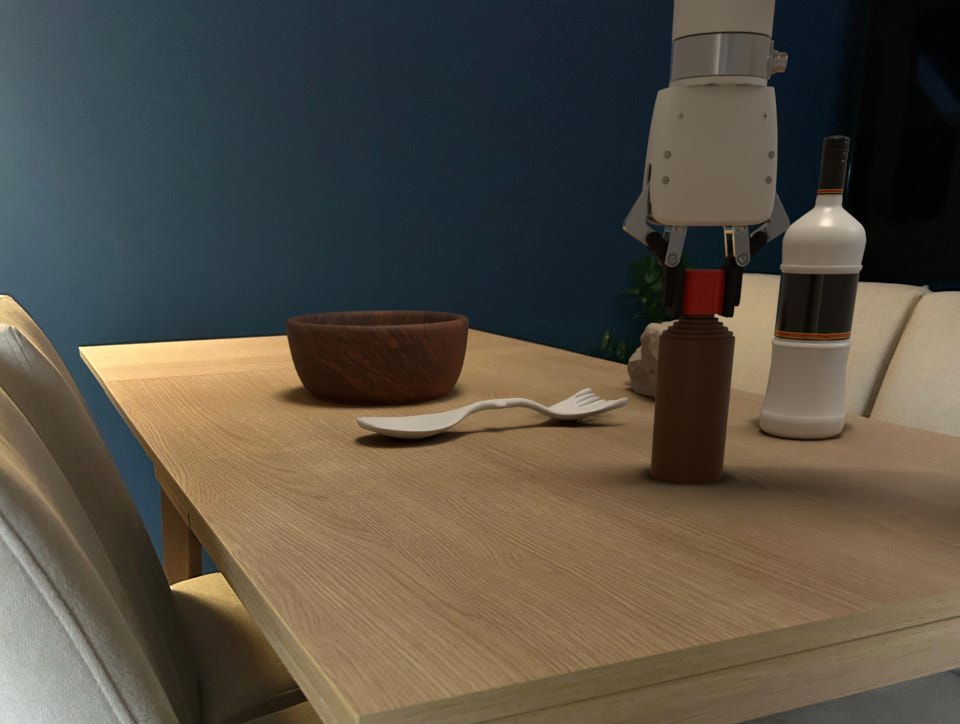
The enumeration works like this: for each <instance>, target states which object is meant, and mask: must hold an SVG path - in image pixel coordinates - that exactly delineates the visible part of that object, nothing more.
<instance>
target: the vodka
mask: <svg viewBox="0 0 960 724" xmlns="http://www.w3.org/2000/svg"><path fill="white" fill-rule="evenodd" d="M850 141H851V138H850V137H849V136H846V135H845V136H844V135H831V136H828V137H824V138H823V140H822V142H823V143H822V150H821V157H820V160H821V162H820V165H819V166H820V167H819V173H818V174H819V175H818V184H817V191H816V198H815V204H814V207H813V208H812V209H810V210H809V211H808V212H806V213H805V214H804V215H802V216H801V217H800V218H798V219H797V220H795V221H794V222H793V223H792V224H790V227H789V228H788V229H787V230H786V231H785V232H784V236H783V238H782V245H781V264H780V265H779V269H780V270H781V272H780V276H779V277H780V278H779V285H778V286H779V287H778V295H777V296H778V297H777V304H776V305H777V306H776V313H775V314H776V315H775V323H774V332H773V336H774V338H773V339H772V340H771V346H772V347H771V358H770V359H771V360H770V368H769V373H768V379H767V385H766V389H765V394H764V399H763V403H762V405H761V407H760V410H759V416H758V424H759V427H760V429H761V430H762V431H763V432H765V433H766V434H768V435H769V436H775V437H778V438H785V439H794V440H824V439H825V440H826V439H831V438H834V437H835V436H837V435H839V434H840V433H841V432H842V431H843V429H844V427H845V423H846V409H845V393H846V392H845V391H846V376H847V375H846V374H847V365H848V359H849V355H850V354H849V353H850V350H851V347H852V341H851V340H850V339H851V338H852V337H851V335H852V328H853V322H854V315H855V308H856V300H857V293H858V287H859V286H858V285H859V280H860V272H861V271H862V269H863V265H862V263H863V262H862V261H863V257H864V253H865V249H866V243H867V236H866V235H867V234H866V230H865V228H864V226H863V225H862V223H861V222H859V221H858V220H857V219H856V218H855V217H854V216H853V215H851V213H849V212H848V211H847V210H846V209H844V207H843V194H844V187H845V181H846V172H847V166H848V162H847V161H848V158H849V157H848V155H849V152H850V151H849V150H850V147H849V146H850Z"/></svg>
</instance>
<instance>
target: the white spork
mask: <svg viewBox="0 0 960 724" xmlns="http://www.w3.org/2000/svg"><path fill="white" fill-rule="evenodd" d="M600 398H601V397H600V396H598V395H597V396H596V393H594V392H593V390H592V388H589V387H587V388H584V389H581V390H579V391H578V392H576V393H574V394H573V395H570V396H569V397H567V398H566V399H564V400H562V401H558V402H557V403H554V404H553V405H550V406H548V407H547V406H545V405H542V404H540V403H539V402H536V401H534V400H532V399H529V398H524V397H508V398H492V399H485V400H480V401H477V402H473V403H470V404H468V405H465V406H461V407H458V408H455V409H451V410H447V411H441V412H435V413H429V414H428V413H427V414H416V415H408V416H359V417H357V418H356V423H357V425H358V427H360V428H361V429H363V430H365V431H369V432H372V433H376V434H379V435H381V436H386V437H391V438H396V439H404V440H418V439H424V438H429V437H432V436H435V435H438V434H441V433H444V432H445V431H447V430H450V429H451V428H453V427H455V426H456V425H458V424H459V423H461V422H462V421H463V420H465V419H466V418H468V416H471V415H474V414H476V413H479V412H482V411H488V410H489V411H490V410H503V409H513V408H525V409H529V410H532V411H535V412H537V413H539V414H542V415H544V416H545V417H548V418H550V419H555V420H559V421H560V420H561V421H575V420H580V419H585V418H590V417H593V416H597V415H600V414H604V413H607V412H612V411H614V410H618V409H621V408H623V407H625V406H627V405H628V403H629V399H628V397H622V398H619V399H615V400H612V399H610V400H606V399H600Z"/></svg>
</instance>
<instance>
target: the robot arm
mask: <svg viewBox="0 0 960 724" xmlns="http://www.w3.org/2000/svg"><path fill="white" fill-rule="evenodd" d="M775 6H776V0H673V15H672V16H673V17H672V31H671V47H670V60H669V61H670V63H669V77H668V87H666V88H663V89H660V90H658V91H657V95H656V98H655V103H654V106H653V113H652V116H651V122H650V129H649V133H648V140H647V146H646V147H647V148H646V155H645V164H644V165H645V166H644V173H643V181H642V191H641V193H640V194H639V196H638V198H637V200H636V201H635V203H634V204H633V206H632V208H631V209H630V211H629V213H627V215H626V217H625V218H624V220H623V222H622V229H623V230H624V231H625V232H626V233H627V234H629V235H630V236H632V237H633V238H634V239H636V240H638V241H639V242H640V243H641V244H643V245H644V246H645V247H646V248H647V250H649V252H650V253H651V254H652V255H653V257H654V258H655V259H656V260H657V262H658V264H659V265H660V266H662V268H661V284H660V297H659V303H660V307H661V308H664V309H665V310H664V311H665V312H664V313H665V316H666V317H669V318H671V319H679V317H683V314H682V312H683V298H684V285H685V269H686V268H685V267H684V266H683V265H682V264H683V260H682V258H681V257H682V253H683V249H684V244H685V241H686V240H685V239H686V235H687V232H688V227H723V234H724V250H725V258H724V259H723V265H720V267H719V268H718V270H726V273H725V286H724V298H723V309H722V313H721V314H717V316H720V317H723V318H725V319H730V318H734V315H735V307H736V308H737V307H739V306H740V304H741V297H742V288H743V277H744V268H745V267H746V266H748V264H749V263H750V261H751V259H752V258H753V257H754V256H755V255H756V254H757V253H759V252H760V250H762V248H763V247H764V246H766V244H768V243H770V241H772V240H774V239H776V238H777V237H779V236H780V235H782V234H783V233H786V231H787V229H788V228H789V227H790V225H791V221H790V219H789V216H788V214H787V212H786V211H785V208H784V206H783V203H782V201H781V199H780V197H779V195H778V192H777V190H776V188H777V175H778V143H779V142H778V116H777V115H778V114H777V102H776V91H775V87H774V86H768V80H770V79H771V76H772V75H774V74H776V73H784V72H785V71H786V69H787V65H788V52H781V51H778V50H777V49H775V46H774V43H775V40H773V39H772V37H773V27H774V17H775ZM647 223H648V224H651V225H654V226H661V227H663V233H662V235H661V233H659V232H658V231H656V230H655V229H654V228H652V227H651V226H650V225H648V224H647ZM762 223H764V224H762ZM759 224H762V225H761V226H759V227H758V228H757V229H755V230H753V231H751V232H750V233H749V226H755V225H759Z"/></svg>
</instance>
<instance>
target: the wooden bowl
mask: <svg viewBox="0 0 960 724" xmlns="http://www.w3.org/2000/svg"><path fill="white" fill-rule="evenodd" d="M469 325H470V320H469V318H468V317H467V316H465V315H463V314H460V313H453V312H446V311H445V312H443V311H431V310H429V311H428V310H390V309H389V310H388V309H387V310H351V311H350V310H349V311H348V310H347V311H332V312H331V311H329V312H318V313H317V312H316V313H310V314H302V315H296V316H292V317H289V318H287V319H286V320H285V326H284V327H285V332H286V338H287V343H288V347H289V352H290V355H291V360H292V363H293V367H294V369H295V372H296V374H297V376H298V378H299V380H300V382H301V384H302V386H303V387H304V389H305V390H306V392H307V393H308V394H309V395H310V396H311V397H313V398H315V399H317V400H321V401H326V402H334V403H343V404H344V403H345V404H362V405H363V404H364V405H365V404H367V405H371V404H373V405H374V404H375V405H377V404H378V405H379V404H404V403H415V402H422V401H428V400H433V399H438V398H441V397H445V396H446V395H448V394H450V392H452V391H453V390H454V388H455V386H456V384H457V382H458V381H459V378H460V376H461V374H462V373H461V372H462V370H463V367H464V363H465V358H466V354H467V347H468V338H469V329H470V326H469Z"/></svg>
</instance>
